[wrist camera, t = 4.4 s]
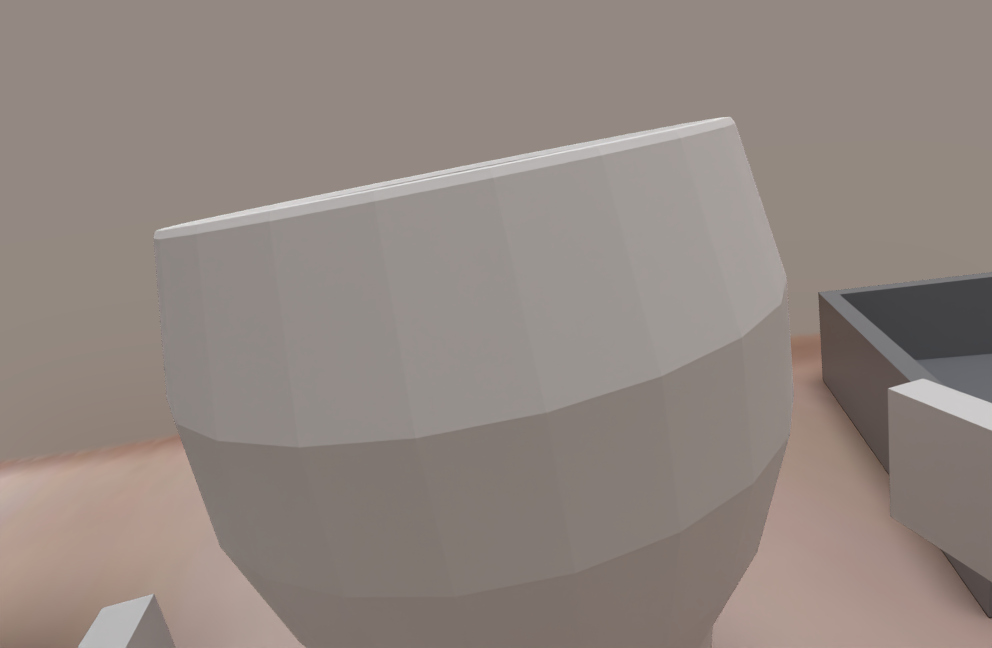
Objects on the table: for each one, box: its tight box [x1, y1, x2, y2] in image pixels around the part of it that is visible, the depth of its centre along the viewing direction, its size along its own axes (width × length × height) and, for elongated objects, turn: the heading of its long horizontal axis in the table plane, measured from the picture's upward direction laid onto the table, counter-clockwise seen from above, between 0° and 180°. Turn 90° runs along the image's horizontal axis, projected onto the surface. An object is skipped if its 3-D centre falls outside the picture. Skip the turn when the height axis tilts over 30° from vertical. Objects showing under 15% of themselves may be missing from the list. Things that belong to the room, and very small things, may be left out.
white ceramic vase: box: [154, 117, 794, 648], centre depth 13 cm, size 11×11×15 cm
